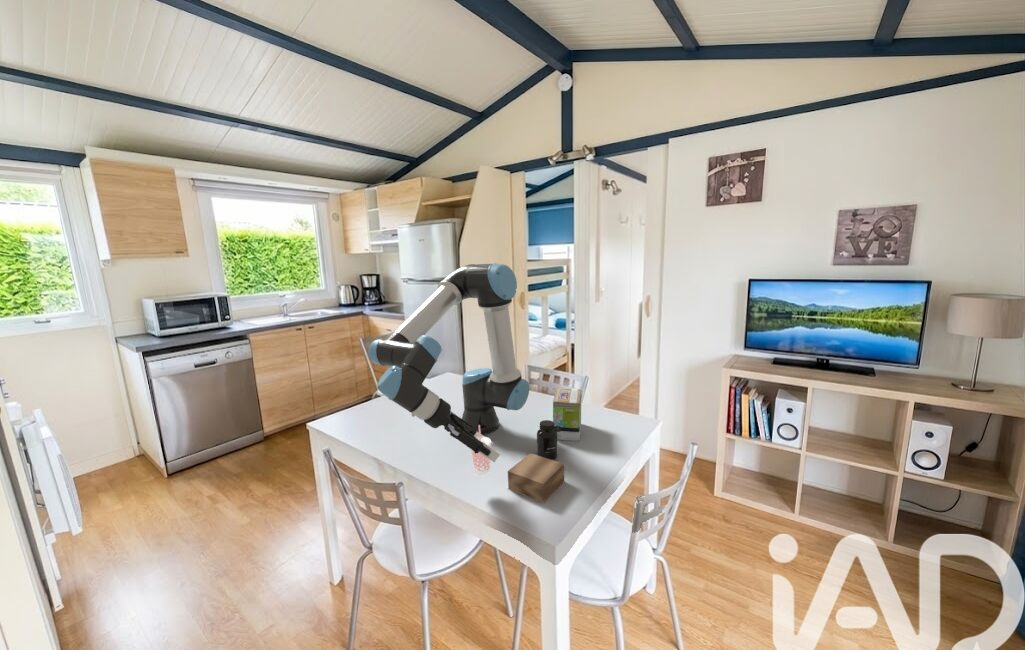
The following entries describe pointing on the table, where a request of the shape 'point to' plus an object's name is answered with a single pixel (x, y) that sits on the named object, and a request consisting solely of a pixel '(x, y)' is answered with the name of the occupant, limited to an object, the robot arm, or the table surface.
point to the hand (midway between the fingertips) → (493, 451)
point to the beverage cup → (481, 457)
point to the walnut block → (536, 477)
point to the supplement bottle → (547, 440)
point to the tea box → (567, 413)
